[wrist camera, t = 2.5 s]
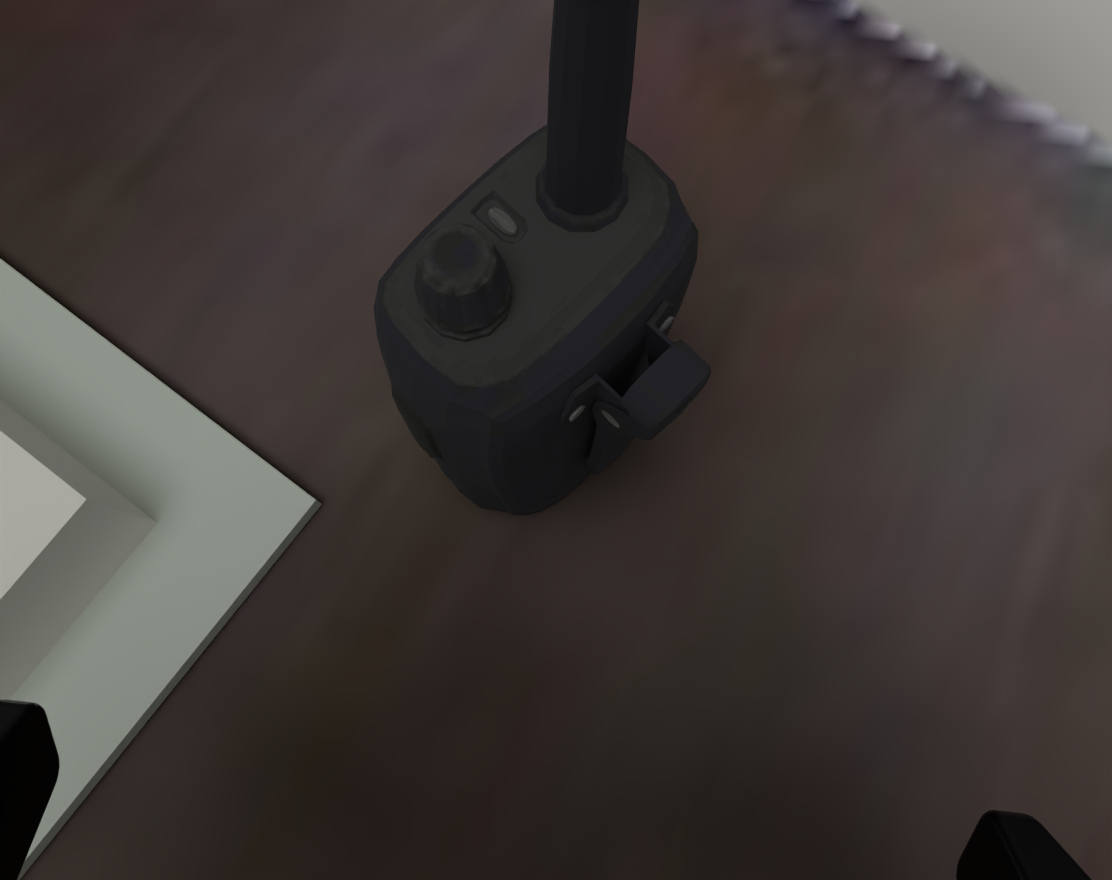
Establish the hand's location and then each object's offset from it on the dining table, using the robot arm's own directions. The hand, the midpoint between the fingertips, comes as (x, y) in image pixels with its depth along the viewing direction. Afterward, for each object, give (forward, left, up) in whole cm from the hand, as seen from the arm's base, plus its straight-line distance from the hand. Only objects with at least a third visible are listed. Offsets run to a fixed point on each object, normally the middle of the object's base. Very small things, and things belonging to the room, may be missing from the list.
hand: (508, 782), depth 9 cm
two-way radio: (+3, -5, -13) cm, 14 cm away
